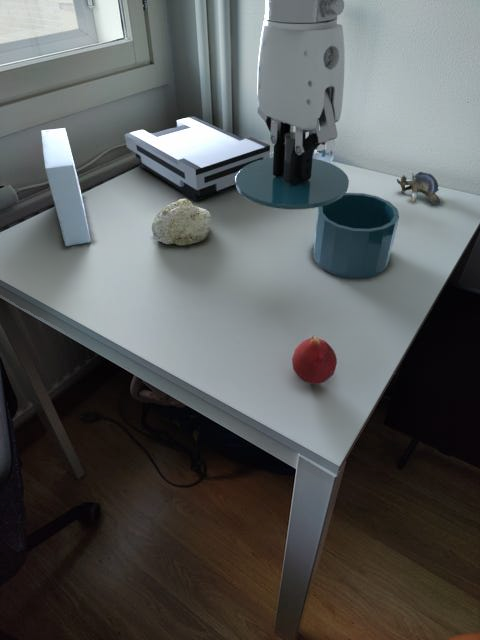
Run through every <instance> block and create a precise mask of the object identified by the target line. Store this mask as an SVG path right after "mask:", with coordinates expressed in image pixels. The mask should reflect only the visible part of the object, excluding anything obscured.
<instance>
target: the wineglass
mask: <svg viewBox="0 0 480 640" xmlns="http://www.w3.org/2000/svg"><path fill="white" fill-rule="evenodd" d="M335 155H336V138H335V139H333V140H330V141H327V142H323V143H321V144H320V145H319V146H318V148H317V149H316V150H313V159H318V160H322V161H325V162H328V163H331V162H332V161H333V160H334V158H335Z"/></svg>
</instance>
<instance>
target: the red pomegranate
mask: <svg viewBox="0 0 480 640" xmlns="http://www.w3.org/2000/svg"><path fill="white" fill-rule="evenodd" d="M337 358H338V357H337V355H336V353H335V350H334V349H333V347H332V346H331V345H330V344H329V343H328V342H327V341H326V340H325V339H322V338H319V337H318V336H316V335H312V336H311V338H307V339H305V340H303V341H301V342H300V343H299V344H298V345H297V346H296V348H294V351H293V354H292V357H291V363H292V370H293V371H294V373H295V374H296V376H297V377H298V378H299V379H300V380H302V381H303V382H305V383H307V384H311V385H319V384H322V383H325V382H327V381H328V380H329V379H330V378H331V377H332V376H334V374H335V371H336V369H337V365H338V359H337Z"/></svg>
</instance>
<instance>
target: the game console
mask: <svg viewBox="0 0 480 640" xmlns="http://www.w3.org/2000/svg"><path fill="white" fill-rule="evenodd" d="M124 140H125V145H126V148H127V149H129V150H130V151H132V152H133V153H134V154H135V157H136V158H137V159H139V160H140V164H141V165H140V166H141V168H143V169H145V170H146V171H148V172H150V173H152V174H153V175H155V176H156V177H158V178H159V179H160V180H162V181H164V182H166V184H169V185H170V186H172V187H174V188H175V189H177V190H178V191H179V192H181V193H183V194H184V195H186V196H187V197H189V198H191V199H192V200H194V201H196V202H197V201H199V200H202V199H204V198H208V197H210V196H213V195H216V194H218V192H219V191H220V190H223V189H226V188H228V187H231V186H233V185H236V184H235V179H236V175H237V173H238V172H239V171H240V170H241V169H242V168H243V167H245V166H246V165H248V164H250V163H253V162H255V161H259V160H262V159H267V158H271V144H269V143H266V142H264V141H261V140H259V139H257V138H254V137H251V136H250V137H247V138H243V137H240V136H238V135H236V134H233V133H232V132H229V131H227V130H224V129H222V128H220V127H218V126H216V125H213V124H211V123H209V122H206V121H204V120H202V119H200V118H197V117H196V116H188V117H185V118H181V119H177V120H176V126H175V127H172V128H171V127H170V128H167V129H164V130H159V131H157V132H153V133H152V132H148V131H146V130H144V129H139V130H135V131H131V132H128V133H125V134H124Z"/></svg>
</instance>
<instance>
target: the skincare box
mask: <svg viewBox="0 0 480 640" xmlns="http://www.w3.org/2000/svg"><path fill="white" fill-rule="evenodd" d="M40 135H41V145H42V153H43V161H44V169H45V173H46V177H47V181H48V185H49V188H50V192H51V196H52V200H53V203H54V206H55V210H56V214H57V218H58V222H59V225H60V229H61V233H62V238H63V241H64V245H65V247H70V246H76V245H82V244H88V243H90V242H91V241H92V240H91V235H90V230H89V223H88V219H87V214H86V209H85V204H84V200H83V196H82V191H81V186H80V183H79V182H80V181H79V177H78V173H77V170H76V165H75V161H74V158H73V153H72V148H71V145H70V141H69V138H68V134H67V130H66V127H63V128H62V127H61V128H53V129H52V128H51V129H42V130H40Z"/></svg>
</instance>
